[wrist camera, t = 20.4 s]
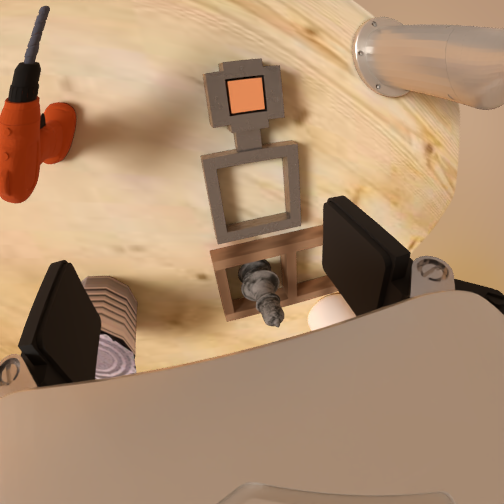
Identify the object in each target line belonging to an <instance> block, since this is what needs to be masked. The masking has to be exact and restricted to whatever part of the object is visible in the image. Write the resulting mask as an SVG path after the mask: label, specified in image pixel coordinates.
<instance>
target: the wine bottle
mask: <svg viewBox="0 0 504 504" xmlns="http://www.w3.org/2000/svg"><path fill="white" fill-rule="evenodd" d="M353 317H356V315H355V314H354V312H353V311H352V309H351V308H350V306H349V305H348V304H347V302H346V301H345V299H344V298H343V296H342V295H341V294H332V295H329V296H326V297H324V298H323V299H321V300H320V301H318V302H317V303H316V304H315V305H314V306H313V307H312V309H311V310H310V312H309V315H308V324H309V327H310V329H311V330H312V331H313V330H316V329H319V328H323V327H326V326H329V325H332V324H335V323H338V322H341V321H344V320H347V319H350V318H353Z"/></svg>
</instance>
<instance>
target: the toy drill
mask: <svg viewBox="0 0 504 504" xmlns="http://www.w3.org/2000/svg"><path fill="white" fill-rule="evenodd" d="M49 11H50V8H49V7H48V6H43V7H41V8H40V10H39V15H38V16H37V19H36V22H35V26H34V28H33V31H32V35H31V36H32V37H31V38H30V41H29V44H28V49H27V50H26V53H25V60H24V62H22V63H19V65H18V66H17V67H16V69H15V71H14V76H13V81H12V85H11V86H10V91H9V97H8V98H7V99H6V100H5V105H4V108H3V110H2V113H1V115H0V197H1V198H2V199H3V200H5V201H7V202H11V203H21V202H23V201H25V200H26V199H27V198H28V197H29V196H30V195H31V193H32V192H33V190H34V188H35V186H36V184H37V181H38V177H39V170H40V164H41V163H42V162H44V163H46V164H54V163H58V162H60V161H62V160H63V159H64V158H65V156H66V155H67V153H68V151H69V149H70V146H71V143H72V140H73V136H74V132H75V126H76V113H75V111H74V109H73V108H72V107H71V106H70V105H68V104H66V103H60V102H58V103H53V104H50V105H49V106H48V107H47V108H46V110H45V112H44V114H43V113H42V115H40V104H39V99H40V98H39V97H38V96H37V94H38V89H39V84H38V81H39V77H40V72H41V68H40V64H39V63H38V62H35V59H36V55H37V53H38V50H39V42H40V40H41V36H42V31H43V30H44V26H45V23H46V21H45V20H47V17H48V13H49Z"/></svg>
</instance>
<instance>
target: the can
mask: <svg viewBox="0 0 504 504" xmlns="http://www.w3.org/2000/svg"><path fill="white" fill-rule="evenodd" d="M81 283H82V285H83V287H84V289H85V290H86V292H87V294H88V296H89V298H90V300H91V301H92V303H93V305H94V307H95V309H96V310H97V312H98V314H99V316H100V318H101V332H100V339H99V347H98V355H97V364H96V374H95V379H103V378H110V377H116V376H122V375H129V374H134V373H136V366H135V360H134V359H135V344H136V317H137V301H136V299H135V297H134V295H133V294H132V292H131V290H130V288H129V287H128V286H127V285H125V284H123V283H121V282H119V281H117V280H116V279H114V278H112V277H110V276H89V277H86V278H85V279H84V280H83V281H82V282H81Z"/></svg>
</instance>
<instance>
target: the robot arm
mask: <svg viewBox="0 0 504 504" xmlns="http://www.w3.org/2000/svg"><path fill="white" fill-rule="evenodd" d="M352 55H353V60H354V64H355V67H356V70H357V72H358V74H359V76H360V77H361V79H362V80H363V81H364V83H365V84H366V85H367V86H368V87H369V88H370V89H371V90H373V91H375V92H376V93H378V94H381V95H383V96H388V97H399V96H403V95H405V94H407V93H408V92H409V91H414V92H419V93H423V94H427V95H431V96H435V97H439V98H443V99H447V100H451V101H454V102H458V103H461V104H464V105H468V106H471V107H474V108H477V109H483V110H489V109H495V108H497V107H500V106H502V105H503V104H504V29H502V28H500V29H499V28H488V27H474V26H459V25H403V24H401V23H400V22H398V21H396V20H394V19H391V18H388V17H376V18H372V19H369V20H367V21H365V22H364V23H363V24H362V25H361V26H360V27H359V28H358V30H357V31H356V33H355V36H354V39H353V45H352ZM410 254H411V253H410V252H409V251H408V250H407V249H406V248H405V247H404V246H403V245H402V244H401V243H399V242H398V241H397V240H396V239H395V238H394V237H393V236H392V235H390V234H389V233H388V232H387V231H386V230H385V229H384V228H382V227H381V226H380V225H379V224H378V223H377V222H375V221H374V220H373V219H372V218H371V217H369V216H368V215H367V214H366V213H365V212H363V211H362V210H361V209H360V208H359V207H357V206H356V205H355V204H354V203H353V202H351V201H350V200H349V199H348V198H346V197H345V196H338V197H333V198H329V199H328V201H327V203H324V207H323V253H322V265H323V269H324V271H325V273H326V274H327V276H328V277H329V278H330V280H331V281H332V282H333V284H334V285H335V287H336V288H337V289H338V291H339V292H340V294H341V295H342V296H343V298H344V299H345V301H346V302H347V304H348V305H349V306H350V308H351V309H352V311H353V312H354V314H355V315H356V317H353V318H350V319H347V320H344V321H341V322H338V323H335V324H332V325H329V326H326V327H323V328H319V329H316V330H313V331H310V332H306V333H303V334H300V335H296V336H293V337H290V338H286V339H283V340H279V341H276V342H272V343H268V344H265V345H261V346H257V347H254V348H250V349H246V350H242V351H238V352H234V353H230V354H226V355H222V356H218V357H213V358H209V359H205V360H200V361H196V362H191V363H186V364H182V365H177V366H172V367H167V368H162V369H156V370H151V371H146V372H140V373H134V374H129V375H122V376H116V377H110V378H103V379H96V380H95V374H96V364H97V355H98V347H99V339H100V332H101V318H100V316H99V314H98V312H97V310H96V309H95V307H94V305H93V303H92V301H91V300H90V298H89V296H88V294H87V292H86V290H85V289H84V287H83V285H82V283H81V281H80V279H79V277H78V275H77V273H76V271H75V269H74V267H73V265H72V264H71V263H68V262H67V261H66V260H62V261H59V262H55V263H52V264H51V265H50V266H49V269H48V271H47V273H46V275H45V277H44V280H43V282H42V284H41V286H40V289H39V291H38V293H37V296H36V298H35V301H34V303H33V306H32V308H31V311H30V313H29V316H28V319H27V321H26V324H25V327H24V330H23V333H22V335H21V338H20V341H19V344H18V347H19V348H20V350H21V351H22V353H21V356H20V355H17V354H11V355H9V356H7V357H5V358H4V359H3V360H2V361H1V362H0V504H504V295H503V294H502V293H501V292H499V291H498V290H494V289H492V288H488V287H484V286H480V285H476V284H473V283H469V282H464V281H461V280H457V279H454V275H453V271H452V269H451V267H450V266H449V265H448V264H447V263H446V262H445V261H443V260H441V259H439V258H436V257H432V256H422V257H419V258H416V259H415V260H414V261H413V260H412V259H411V258H410Z"/></svg>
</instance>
